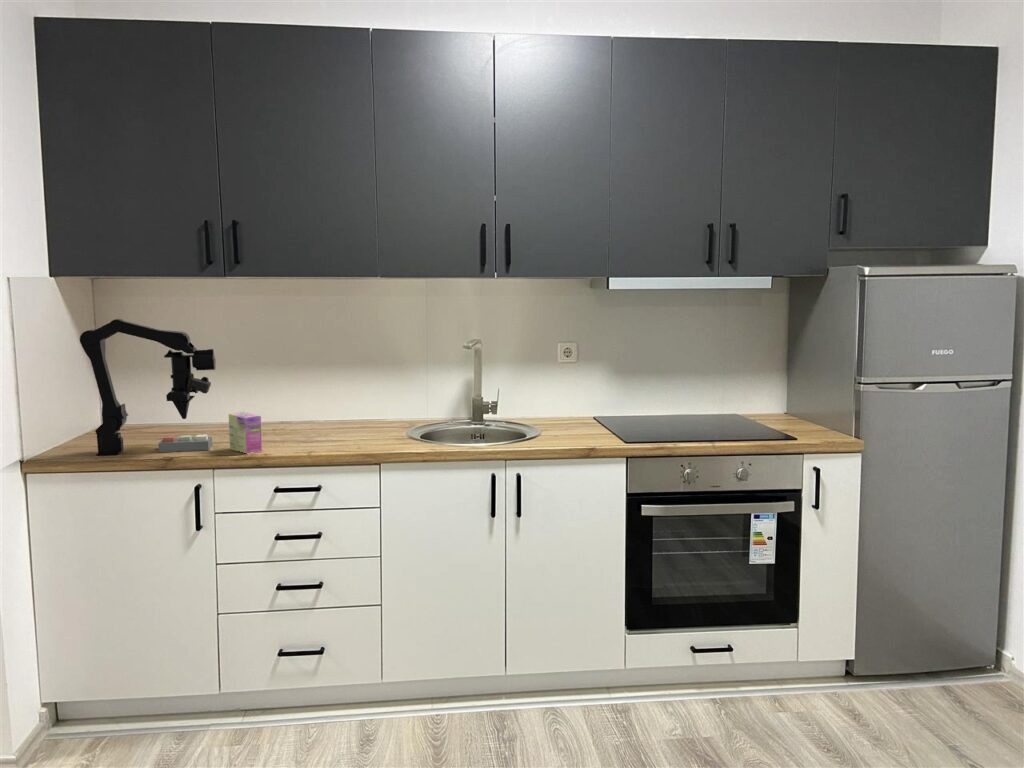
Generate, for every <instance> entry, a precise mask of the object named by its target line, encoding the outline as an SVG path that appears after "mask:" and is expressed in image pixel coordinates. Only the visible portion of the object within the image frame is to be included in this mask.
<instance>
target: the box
mask: <svg viewBox="0 0 1024 768" xmlns="http://www.w3.org/2000/svg"><path fill="white" fill-rule="evenodd" d="M228 429H229V431H228V432H229V433H228V435H229V449H230V450H231V451H235V452H238V451H240V452H239V453H241V452H243V453H242V454H244V453H251V452H257V453H259V452H258V451H262V452H263V447H262V445H263V443H262V442H263V441H262V416H261V415H257V414H253V413H249V412H245V411H243V412H236V413H235V412H234V413H229V414H228Z"/></svg>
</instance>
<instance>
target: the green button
mask: <svg viewBox="0 0 1024 768" xmlns="http://www.w3.org/2000/svg"><path fill="white" fill-rule="evenodd" d="M192 437H193V436H192V434H188V435H187V434H186V435H180V436H179V437H178V438H179V441H191V440H192Z"/></svg>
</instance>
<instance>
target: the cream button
mask: <svg viewBox="0 0 1024 768" xmlns="http://www.w3.org/2000/svg"><path fill="white" fill-rule="evenodd" d="M195 437H196V441H200V440H208V437H209V436H208V434H197V435H196V436H195Z"/></svg>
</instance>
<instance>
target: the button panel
mask: <svg viewBox="0 0 1024 768" xmlns="http://www.w3.org/2000/svg"><path fill="white" fill-rule="evenodd" d="M157 443H158V445H157V446H158V453H177V452H176V451H183V452H194V451H193V450H206V451H209V450H210V449H211V448H212V447H213V437H212V436H208V440H200V441H196V436H195V437H194V436H192V440H191V441H179V437H176V440H175V441H174V442H163V439H162V440H160V441H159V442H157ZM211 446H212V447H211ZM210 447H211V448H210Z"/></svg>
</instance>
